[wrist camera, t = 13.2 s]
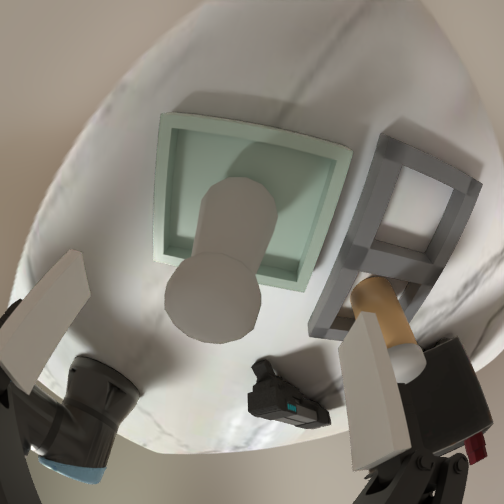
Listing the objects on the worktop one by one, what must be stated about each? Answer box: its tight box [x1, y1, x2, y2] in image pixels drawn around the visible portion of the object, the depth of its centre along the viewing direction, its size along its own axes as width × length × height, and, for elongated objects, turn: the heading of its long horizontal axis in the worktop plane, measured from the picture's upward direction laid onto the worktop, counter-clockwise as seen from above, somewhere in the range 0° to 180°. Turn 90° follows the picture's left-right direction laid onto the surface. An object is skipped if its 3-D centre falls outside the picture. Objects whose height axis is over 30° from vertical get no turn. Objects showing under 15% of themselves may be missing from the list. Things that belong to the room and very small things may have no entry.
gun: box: [248, 360, 331, 429], centre depth 36 cm, size 4×20×10 cm, turn 34°
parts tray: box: [153, 112, 353, 292], centre depth 21 cm, size 14×13×2 cm
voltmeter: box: [369, 336, 493, 474], centre depth 27 cm, size 16×16×20 cm
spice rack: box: [308, 134, 483, 384], centre depth 20 cm, size 11×21×10 cm, turn 169°
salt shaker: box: [165, 177, 278, 344], centre depth 16 cm, size 6×6×13 cm
